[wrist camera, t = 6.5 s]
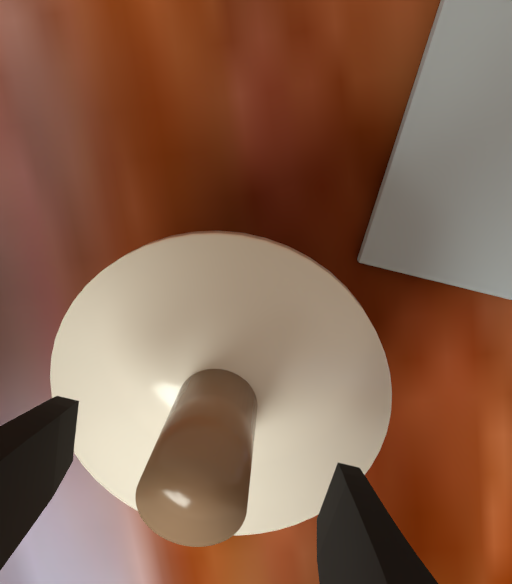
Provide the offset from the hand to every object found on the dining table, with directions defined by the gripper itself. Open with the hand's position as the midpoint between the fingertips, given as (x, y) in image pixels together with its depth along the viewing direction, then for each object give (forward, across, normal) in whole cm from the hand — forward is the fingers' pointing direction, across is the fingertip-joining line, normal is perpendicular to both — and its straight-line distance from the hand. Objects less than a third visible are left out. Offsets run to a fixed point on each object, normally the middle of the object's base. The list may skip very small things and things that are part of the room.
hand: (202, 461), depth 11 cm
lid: (+3, 0, 0) cm, 3 cm away
